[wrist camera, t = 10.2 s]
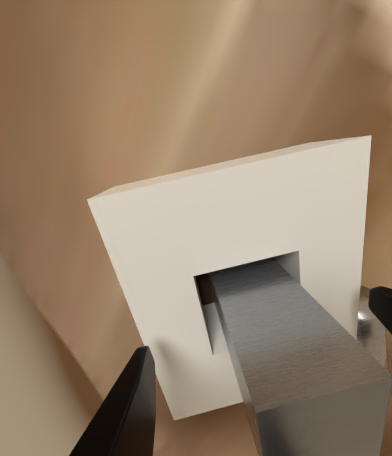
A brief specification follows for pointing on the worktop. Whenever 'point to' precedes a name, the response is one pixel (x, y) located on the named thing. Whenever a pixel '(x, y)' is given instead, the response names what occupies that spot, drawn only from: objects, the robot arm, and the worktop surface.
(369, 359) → the square bit
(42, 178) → the worktop surface
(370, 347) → the round bit
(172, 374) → the socket block
